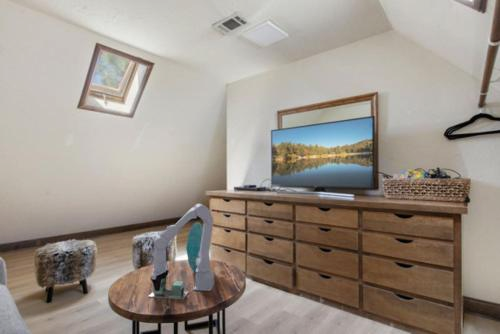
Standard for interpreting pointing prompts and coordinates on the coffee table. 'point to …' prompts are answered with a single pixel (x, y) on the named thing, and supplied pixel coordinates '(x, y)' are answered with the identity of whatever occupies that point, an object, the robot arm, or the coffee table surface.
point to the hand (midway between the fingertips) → (159, 288)
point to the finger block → (162, 286)
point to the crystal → (194, 244)
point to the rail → (172, 292)
